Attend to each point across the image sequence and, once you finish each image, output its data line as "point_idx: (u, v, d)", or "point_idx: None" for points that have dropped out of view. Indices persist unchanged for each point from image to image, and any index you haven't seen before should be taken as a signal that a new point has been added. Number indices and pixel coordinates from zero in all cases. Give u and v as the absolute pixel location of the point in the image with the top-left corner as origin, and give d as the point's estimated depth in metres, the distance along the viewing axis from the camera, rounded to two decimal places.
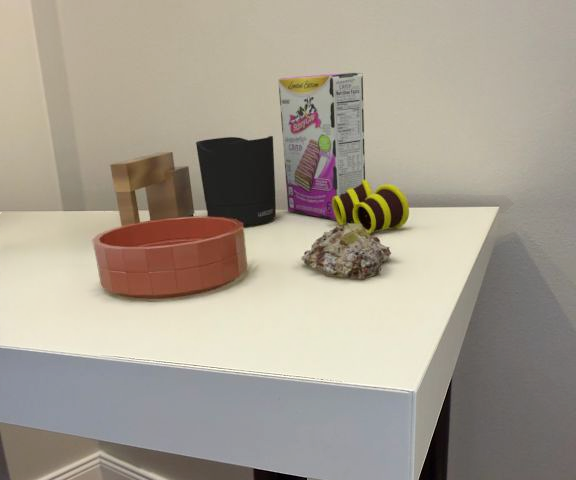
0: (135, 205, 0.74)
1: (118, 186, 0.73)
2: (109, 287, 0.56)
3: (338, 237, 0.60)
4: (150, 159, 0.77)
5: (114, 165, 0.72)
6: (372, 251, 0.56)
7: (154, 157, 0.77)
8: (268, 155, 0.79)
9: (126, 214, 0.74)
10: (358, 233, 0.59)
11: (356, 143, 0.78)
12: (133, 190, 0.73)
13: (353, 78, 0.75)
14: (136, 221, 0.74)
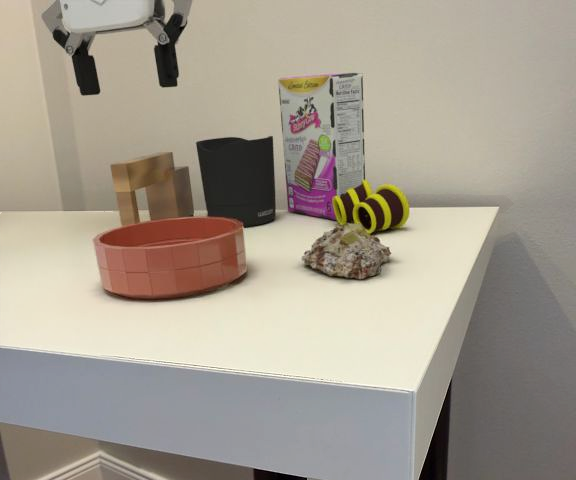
0: (135, 205, 0.74)
1: (118, 186, 0.73)
2: (109, 287, 0.56)
3: (338, 237, 0.60)
4: (150, 159, 0.77)
5: (114, 165, 0.72)
6: (372, 251, 0.56)
7: (154, 157, 0.77)
8: (268, 155, 0.79)
9: (126, 214, 0.74)
10: (358, 233, 0.59)
11: (356, 143, 0.78)
12: (133, 190, 0.73)
13: (353, 78, 0.75)
14: (136, 221, 0.74)
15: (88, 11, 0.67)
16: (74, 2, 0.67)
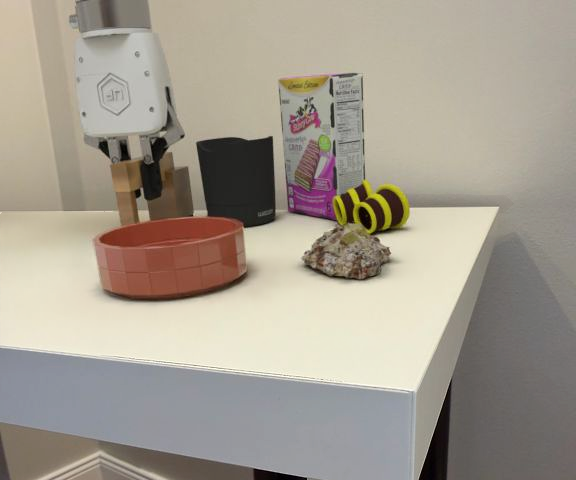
0: (135, 205, 0.74)
1: (118, 186, 0.73)
2: (109, 287, 0.56)
3: (338, 237, 0.60)
4: None
5: (114, 165, 0.72)
6: (372, 251, 0.56)
7: None
8: (268, 155, 0.79)
9: (126, 214, 0.74)
10: (358, 233, 0.59)
11: (356, 143, 0.78)
12: (133, 190, 0.73)
13: (353, 78, 0.75)
14: (136, 221, 0.74)
15: (105, 119, 0.72)
16: (92, 111, 0.72)
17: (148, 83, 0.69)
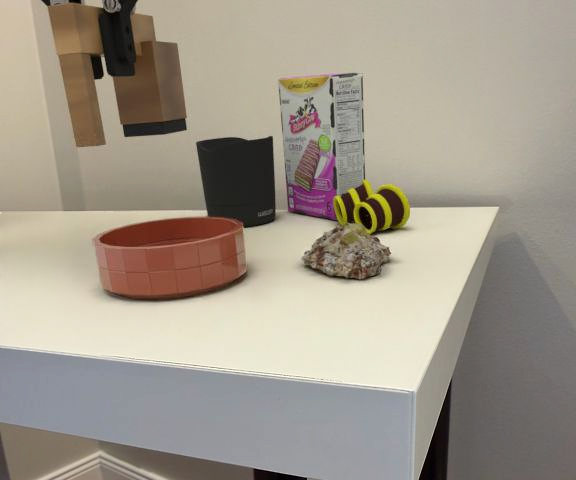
0: (91, 78, 0.46)
1: (62, 44, 0.45)
2: (109, 287, 0.56)
3: (338, 237, 0.60)
4: None
5: (54, 7, 0.44)
6: (372, 251, 0.56)
7: None
8: (268, 155, 0.79)
9: (76, 93, 0.46)
10: (358, 233, 0.59)
11: (356, 143, 0.78)
12: (86, 52, 0.45)
13: (353, 78, 0.75)
14: (93, 105, 0.46)
15: None
16: None
17: None
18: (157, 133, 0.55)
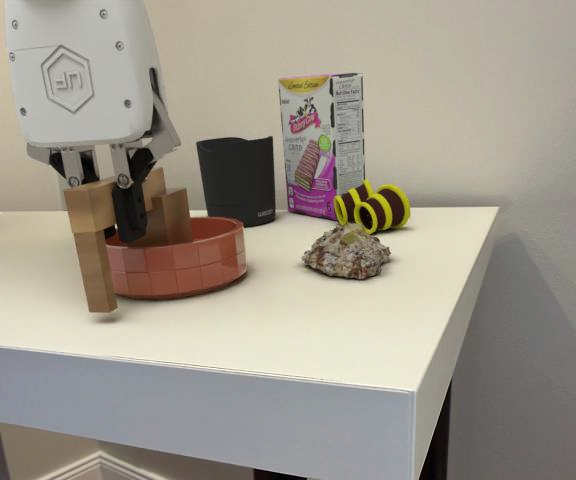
0: (104, 252, 0.48)
1: (76, 224, 0.47)
2: None
3: (338, 237, 0.60)
4: None
5: (69, 191, 0.46)
6: (372, 251, 0.56)
7: None
8: (268, 155, 0.79)
9: (90, 266, 0.48)
10: (358, 233, 0.59)
11: (356, 143, 0.78)
12: (100, 230, 0.47)
13: (353, 78, 0.75)
14: (105, 276, 0.48)
15: (55, 120, 0.46)
16: (35, 106, 0.46)
17: (122, 61, 0.43)
18: None
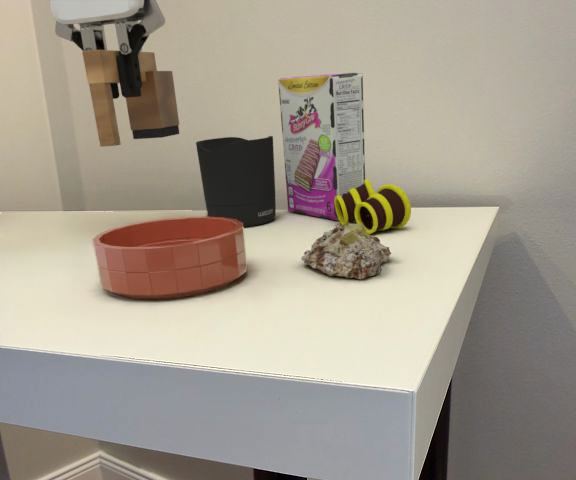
0: (111, 99, 0.67)
1: (91, 77, 0.66)
2: (109, 287, 0.56)
3: (338, 237, 0.60)
4: None
5: (86, 52, 0.65)
6: (372, 251, 0.56)
7: None
8: (268, 155, 0.79)
9: (101, 109, 0.67)
10: (358, 233, 0.59)
11: (356, 143, 0.78)
12: (108, 82, 0.67)
13: (353, 78, 0.75)
14: (112, 118, 0.68)
15: (76, 2, 0.65)
16: None
17: None
18: (157, 136, 0.76)
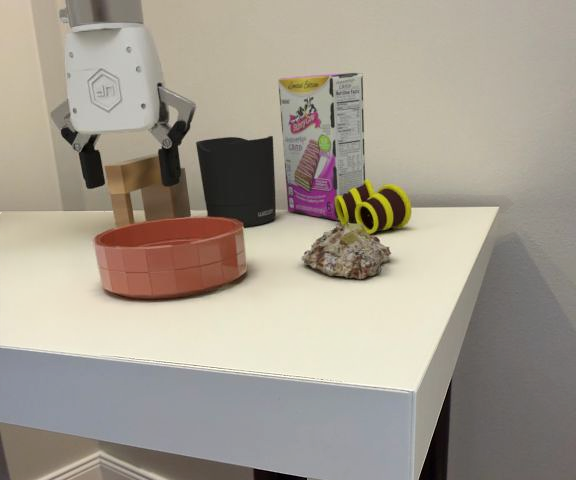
0: (130, 207, 0.73)
1: (113, 188, 0.72)
2: (109, 287, 0.56)
3: (338, 237, 0.60)
4: (145, 160, 0.75)
5: (108, 167, 0.71)
6: (372, 251, 0.56)
7: (149, 158, 0.76)
8: (268, 155, 0.79)
9: (121, 216, 0.73)
10: (358, 233, 0.59)
11: (356, 143, 0.78)
12: (128, 192, 0.72)
13: (353, 78, 0.75)
14: None
15: (96, 116, 0.70)
16: (83, 107, 0.70)
17: (140, 79, 0.68)
18: None
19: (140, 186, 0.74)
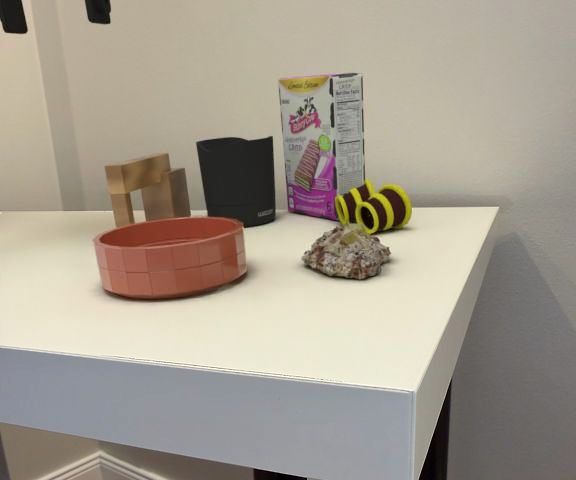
0: (130, 207, 0.73)
1: (112, 188, 0.72)
2: (109, 287, 0.56)
3: (338, 237, 0.60)
4: (145, 160, 0.75)
5: (108, 167, 0.71)
6: (372, 251, 0.56)
7: (149, 158, 0.76)
8: (268, 155, 0.79)
9: (121, 216, 0.73)
10: (358, 233, 0.59)
11: (356, 143, 0.78)
12: (128, 192, 0.72)
13: (353, 78, 0.75)
14: None
15: None
16: None
17: None
18: None
19: (140, 186, 0.74)
